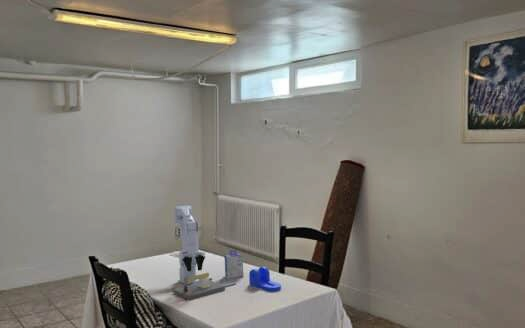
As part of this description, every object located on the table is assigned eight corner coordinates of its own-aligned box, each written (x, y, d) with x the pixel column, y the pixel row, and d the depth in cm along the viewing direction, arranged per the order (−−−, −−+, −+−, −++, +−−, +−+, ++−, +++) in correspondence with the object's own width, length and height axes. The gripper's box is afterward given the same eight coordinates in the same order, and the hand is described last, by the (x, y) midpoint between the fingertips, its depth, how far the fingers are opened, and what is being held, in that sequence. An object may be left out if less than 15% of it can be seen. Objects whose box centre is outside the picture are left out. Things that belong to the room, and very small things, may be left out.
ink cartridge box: (240, 273, 273) (240, 249, 272) (244, 276, 268) (243, 251, 267) (224, 276, 269) (223, 251, 269) (227, 278, 264) (226, 253, 264)
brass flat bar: (183, 290, 238) (182, 278, 238) (207, 284, 247) (207, 272, 247) (185, 291, 236) (184, 279, 236) (209, 285, 246) (209, 273, 245)
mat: (212, 284, 255) (212, 283, 255) (225, 280, 261) (225, 279, 261) (221, 288, 248) (221, 287, 248) (235, 284, 254) (235, 283, 254)
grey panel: (173, 293, 241) (173, 288, 241) (209, 283, 256) (209, 279, 255) (188, 300, 231) (188, 295, 231) (225, 289, 245) (224, 285, 245)
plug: (198, 290, 245) (197, 278, 245) (209, 287, 250) (208, 275, 249) (203, 292, 242) (202, 279, 242) (214, 289, 246) (213, 277, 246)
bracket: (249, 285, 253) (249, 268, 252) (261, 281, 258) (260, 265, 258) (272, 292, 239) (272, 275, 239) (284, 289, 245) (283, 271, 244)
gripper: (177, 246, 248) (179, 272, 245) (197, 243, 240) (199, 270, 237) (187, 245, 254) (189, 271, 251) (206, 242, 245) (209, 269, 243)
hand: (194, 270), depth 244 cm, fingers open, 7 cm apart
